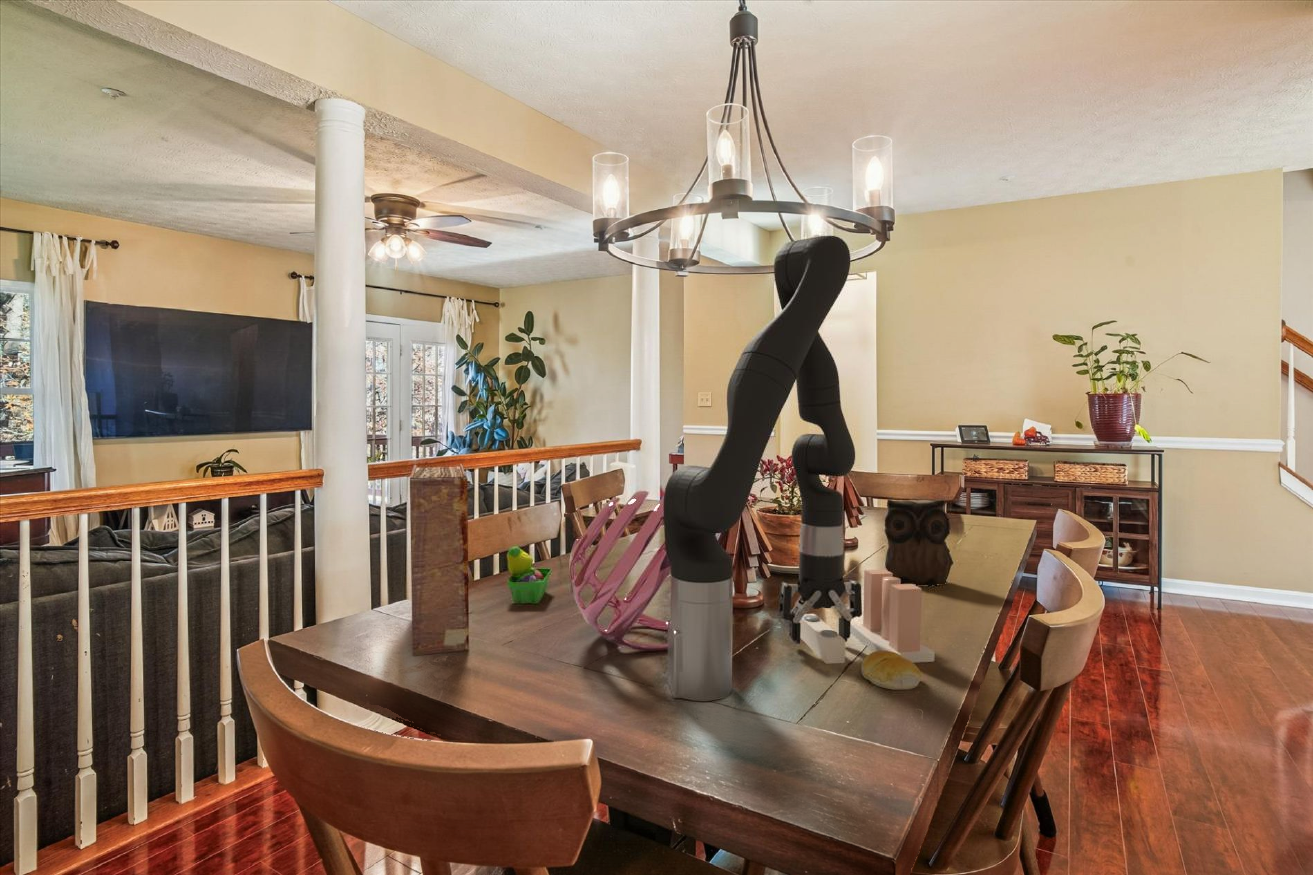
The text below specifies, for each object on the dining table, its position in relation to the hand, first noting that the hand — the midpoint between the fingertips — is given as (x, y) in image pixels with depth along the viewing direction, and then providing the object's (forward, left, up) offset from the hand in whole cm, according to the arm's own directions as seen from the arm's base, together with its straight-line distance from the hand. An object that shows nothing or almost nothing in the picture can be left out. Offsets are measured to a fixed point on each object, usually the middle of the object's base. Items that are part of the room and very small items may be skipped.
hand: (819, 641), depth 119 cm
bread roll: (+6, -14, -2) cm, 15 cm away
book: (-67, +18, -1) cm, 69 cm away
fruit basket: (-52, +37, -1) cm, 64 cm away
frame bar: (0, 0, -1) cm, 1 cm away
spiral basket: (-31, +9, -1) cm, 32 cm away
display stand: (+12, -1, -1) cm, 13 cm away
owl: (+40, +40, -1) cm, 57 cm away
